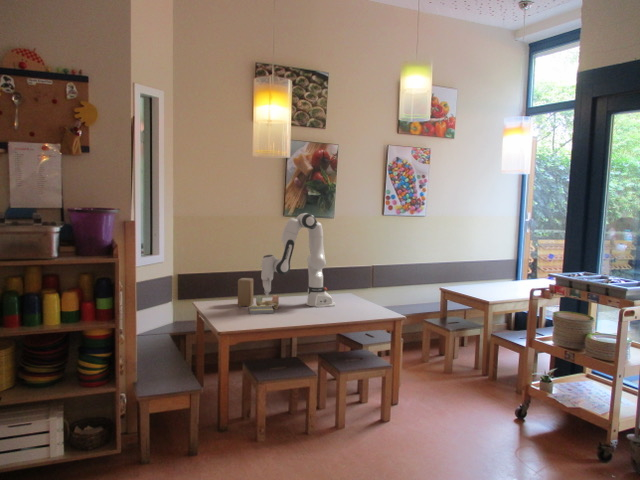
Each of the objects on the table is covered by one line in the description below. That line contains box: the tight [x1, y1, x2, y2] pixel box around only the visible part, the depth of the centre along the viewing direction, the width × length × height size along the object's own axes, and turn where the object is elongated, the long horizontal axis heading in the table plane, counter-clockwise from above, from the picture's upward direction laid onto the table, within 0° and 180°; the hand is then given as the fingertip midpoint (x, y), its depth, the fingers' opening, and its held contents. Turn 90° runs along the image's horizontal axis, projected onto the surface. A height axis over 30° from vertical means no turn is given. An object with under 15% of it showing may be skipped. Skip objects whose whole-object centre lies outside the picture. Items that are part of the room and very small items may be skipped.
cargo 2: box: [271, 294, 280, 303], centre depth 363 cm, size 4×4×4 cm
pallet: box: [255, 299, 280, 310], centre depth 362 cm, size 16×6×5 cm, turn 103°
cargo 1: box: [255, 295, 263, 303], centre depth 360 cm, size 4×4×4 cm
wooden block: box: [237, 277, 254, 307], centre depth 370 cm, size 10×10×20 cm
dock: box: [248, 305, 274, 315], centre depth 350 cm, size 16×12×3 cm
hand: (266, 295), depth 361 cm, fingers open, 8 cm apart
